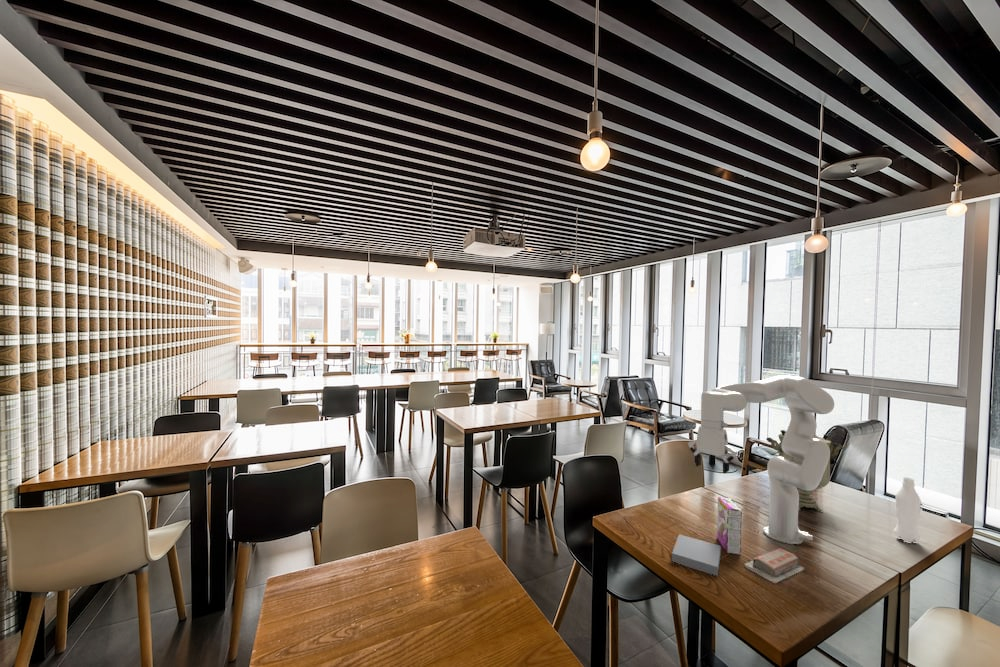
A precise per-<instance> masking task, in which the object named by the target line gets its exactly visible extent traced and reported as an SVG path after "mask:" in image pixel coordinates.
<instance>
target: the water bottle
mask: <svg viewBox="0 0 1000 667" xmlns="http://www.w3.org/2000/svg"><path fill="white" fill-rule="evenodd" d="M902 479H903V480H902V482H901V483H902V486H901V487H900V489H899V490H898V491H897V492H896V494H895V496H894V497H895V504H894V505H895V506H894V507H895V508H894V511H895V514H896V517H897V524H896V526H895V528H894V529H893V532H894V536H895V537H898V538H902V540H904V541H908V542H918V543H919V542H920V539H921V535H920V534H919V531H918V523H919V521H920V520H921V517H922V516H921V505H922V501H921V498H920V496H919V493H917V491H916V489H915V486H916V485H915V479H913V478H911V477H906V476H905V477H903V478H902ZM902 540H901V541H902ZM904 541H903V542H904Z"/></svg>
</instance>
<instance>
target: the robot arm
mask: <svg viewBox="0 0 1000 667" xmlns="http://www.w3.org/2000/svg"><path fill="white" fill-rule="evenodd" d="M700 398H701V400H700V407H701V408H700V425H698V431H697V435H696V439H695V440H692V441H687V445H688V447H689V450H690V451H691V453H692V454H693V455H694V463H695V467H700V466H701V464H702V456H701V453H703V454H708V455H710V456H711V455H712V456H716V457H720V458H721V459H722V460H723V462H722V473H723V474H726V473H728V472H730V462H731V461H733V460H735V458H736V456H738V453H739V452H738V451H737V450H735V449H733V448H732V447H731V446H729V442H728V441H729V440H728V434H727V429H726V428H727V427H728V423H727V422H726V423H725V421H724V412H725V411H726V412H733V413H734V412H737V413H738V412H741V411H743V410H744V409H746V407H747V405H748V403H751V404H765V403H769V402H771V401H775V400H779V399H782V398H784V401H785V404H786V405H787V408H788V410H789V412H790V421H789V423H788V427H787V429H786V430H785V433H786V434H785V436H784V438H783V441H782V445H781V448H782V450H783V451H784V452H785V453H786V454H788V455H791V456H793V457H796V458H799V459H802V460H803V463H801V462H798V461H795V460H792V459H789V458H786V457H782V456H779V455H777V456H776V455H775V456H772V457H771V458H769V459H768V461H767V466H766V467H767V468H766V470H767V475H768V480H769V495H768V497H769V498H768V522H767V524H768V526H765V527H763V533H764V535H766V536H767V537H769V539H772V540H775V541H777V542H779V543H782V542H783V544H786V543H787V544H788V545H793V544H797V545H801V544H802V543H803V539H805V540H809V541H813V540H814V538H813V537H814V536H813V535H812V534H809V532H807V531H802V530H800V528H799V510H798V506H799V494H798V490H797V488H800V489H802V490H806V491H812V490H813V491H814V489H816V488H817V486H818V485H819V483H820V481H821V479H822V476H823V474H824V471H825V469H826V466H827V464H828V461H829V459H830V460H831V457H830V449H829V446H828V445H827V443H825V442H824V441H822V440H820V439H817V438H813V437H814V434H815V433H816V431H817V427H818V426H817V424H818V423H817V421H816V418H815V416H814V414H817V415H827V414H830V413H831V412H832V411H833V410H834V408H835V400H834V398H833V397H832V395H831V394H830V393H828V392H827V391H826V390H824V389H823V388H822V387H820V386H819V385H817V384H816V383H815V382H813V381H812V380H810V379H807V378H805V377H802V376H793V375H785V374H784V375H783V374H781V375H776V376H771V377H769V378H764V379H761V380H756V381H751V382H749V381H748V382H742V383H732V384H726V385H722V386H719V387H718V386H717V387H714V388H713V389H711V390H707V391H702V393H701V395H700ZM815 435H816V434H815ZM694 445H695V446H696V447H695V446H694ZM729 453H731V454H730V456H729V455H728V454H729ZM796 487H797V488H796ZM787 544H786V545H787Z"/></svg>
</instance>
